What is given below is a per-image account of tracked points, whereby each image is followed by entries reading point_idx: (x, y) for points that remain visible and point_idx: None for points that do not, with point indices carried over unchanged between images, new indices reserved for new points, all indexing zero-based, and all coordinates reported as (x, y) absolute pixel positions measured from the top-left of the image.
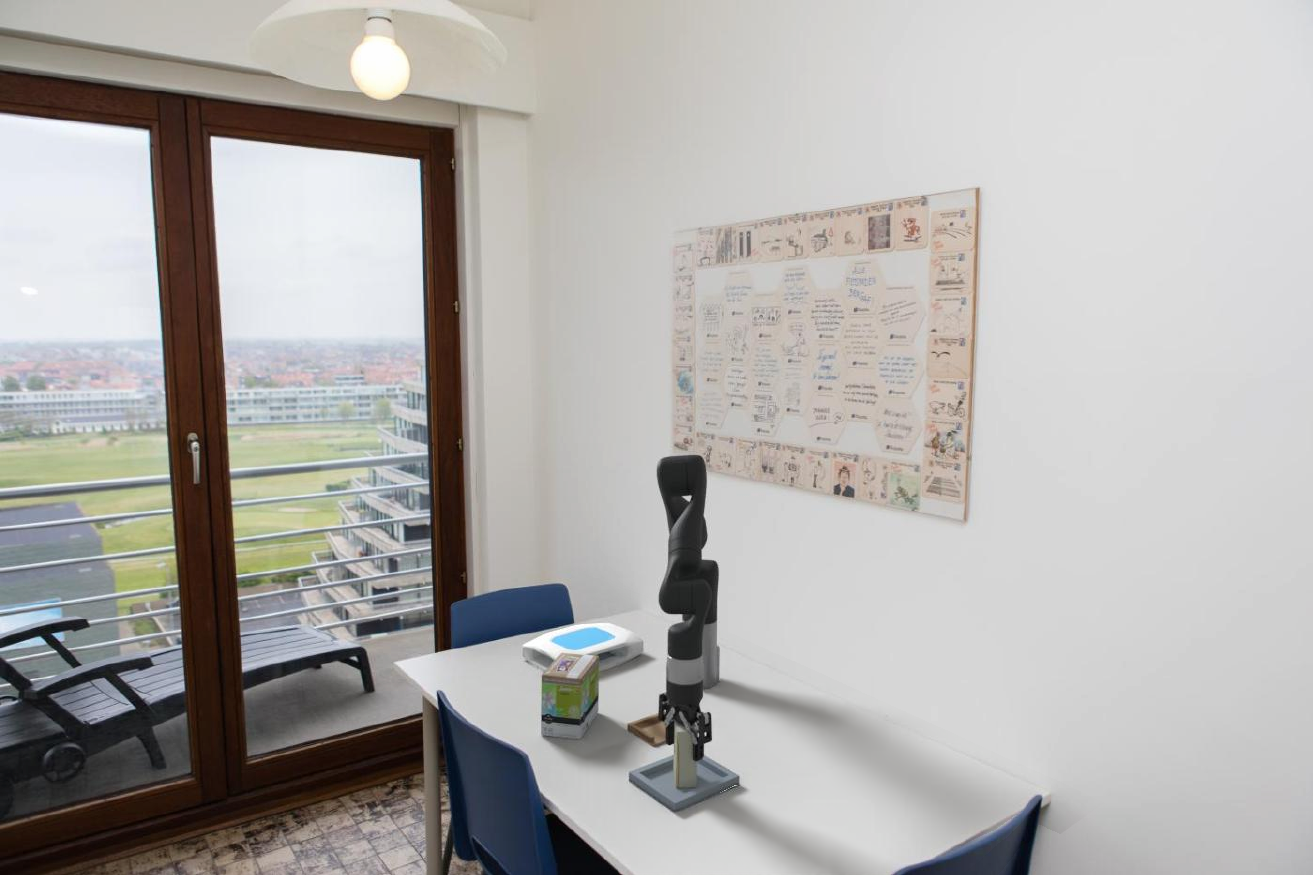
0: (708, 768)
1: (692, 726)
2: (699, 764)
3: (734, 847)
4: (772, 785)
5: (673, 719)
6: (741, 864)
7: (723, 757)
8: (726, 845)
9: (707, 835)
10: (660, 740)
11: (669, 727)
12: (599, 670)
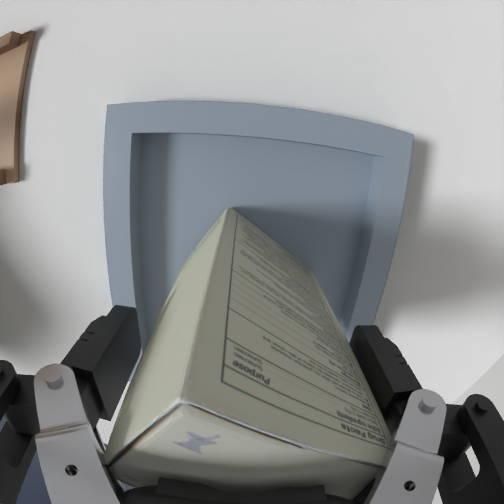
0: (252, 137)
1: (328, 480)
2: (199, 139)
3: (481, 349)
4: (453, 75)
5: (123, 489)
6: (494, 363)
7: (214, 21)
8: (469, 357)
9: (434, 368)
10: (8, 147)
11: (99, 411)
12: None
